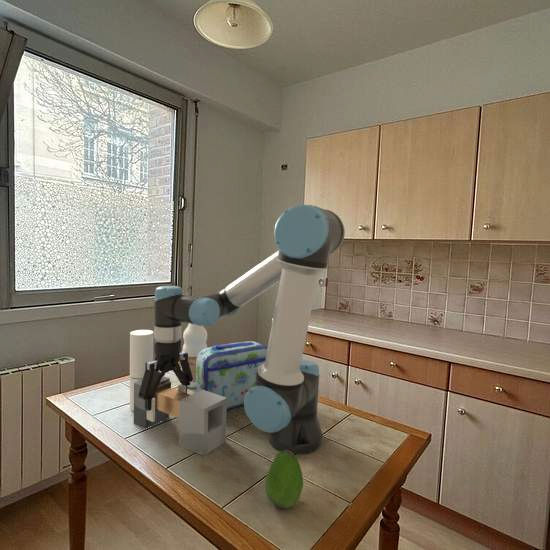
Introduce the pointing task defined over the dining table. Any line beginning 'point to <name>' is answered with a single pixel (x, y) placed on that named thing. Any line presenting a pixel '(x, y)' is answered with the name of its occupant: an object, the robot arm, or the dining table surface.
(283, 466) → the avocado
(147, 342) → the cylindrical container
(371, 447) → the dining table surface
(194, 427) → the sleeve
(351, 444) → the dining table surface
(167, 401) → the square peg
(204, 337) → the fruit juice
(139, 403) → the socket
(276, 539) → the dining table surface
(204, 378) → the lunch box
